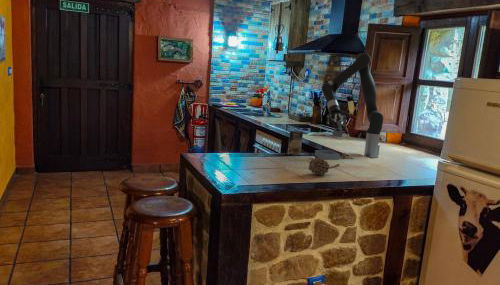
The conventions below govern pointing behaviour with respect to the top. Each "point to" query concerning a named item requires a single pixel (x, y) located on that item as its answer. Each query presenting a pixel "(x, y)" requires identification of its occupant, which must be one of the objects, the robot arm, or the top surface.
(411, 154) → the top surface
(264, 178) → the top surface
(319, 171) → the pine cone
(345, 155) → the stud base
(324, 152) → the slate bin
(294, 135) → the coffee box
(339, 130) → the metal strut
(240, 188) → the top surface
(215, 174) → the top surface
